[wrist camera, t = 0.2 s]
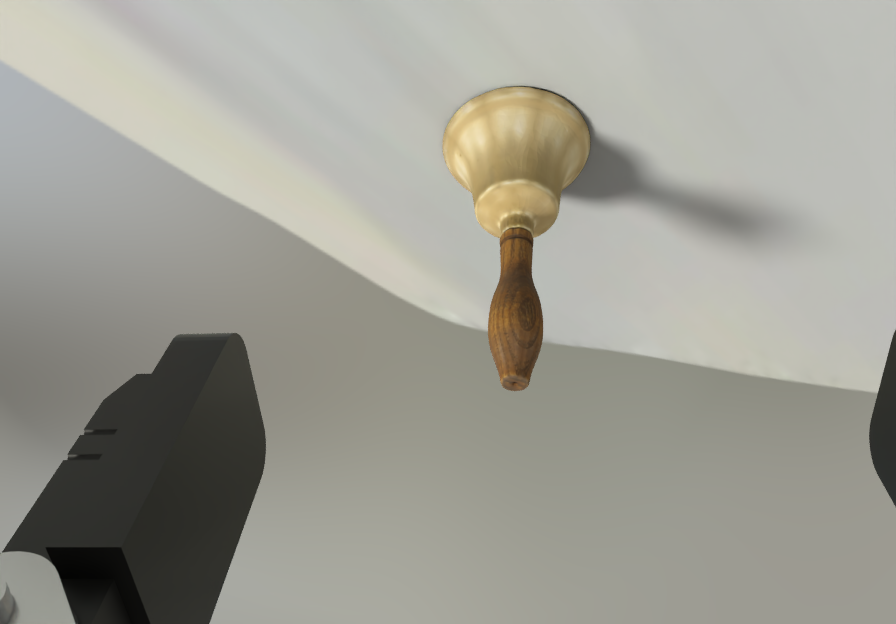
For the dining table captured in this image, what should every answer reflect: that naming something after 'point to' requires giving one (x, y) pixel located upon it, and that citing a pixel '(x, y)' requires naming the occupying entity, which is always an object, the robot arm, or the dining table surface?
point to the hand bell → (516, 201)
